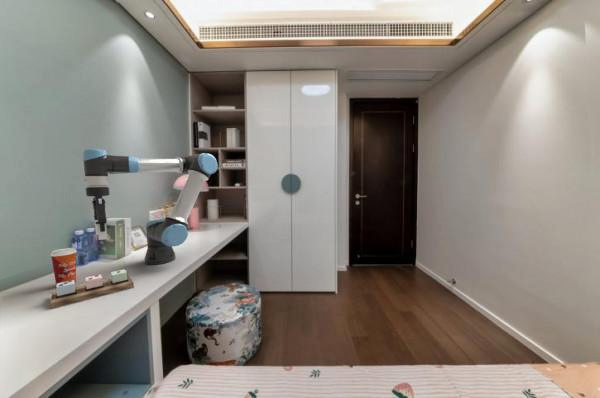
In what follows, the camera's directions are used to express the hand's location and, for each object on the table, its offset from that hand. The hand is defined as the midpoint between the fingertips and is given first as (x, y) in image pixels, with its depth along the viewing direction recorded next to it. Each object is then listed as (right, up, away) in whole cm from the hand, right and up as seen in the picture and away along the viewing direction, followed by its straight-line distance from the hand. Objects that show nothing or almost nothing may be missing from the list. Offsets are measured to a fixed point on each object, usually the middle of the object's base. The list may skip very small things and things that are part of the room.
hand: (101, 236), depth 104 cm
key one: (+9, -18, -2) cm, 20 cm away
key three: (-3, -19, -13) cm, 23 cm away
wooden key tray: (+3, -21, -7) cm, 22 cm away
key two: (+3, -18, -7) cm, 20 cm away
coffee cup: (-16, -21, +1) cm, 26 cm away
